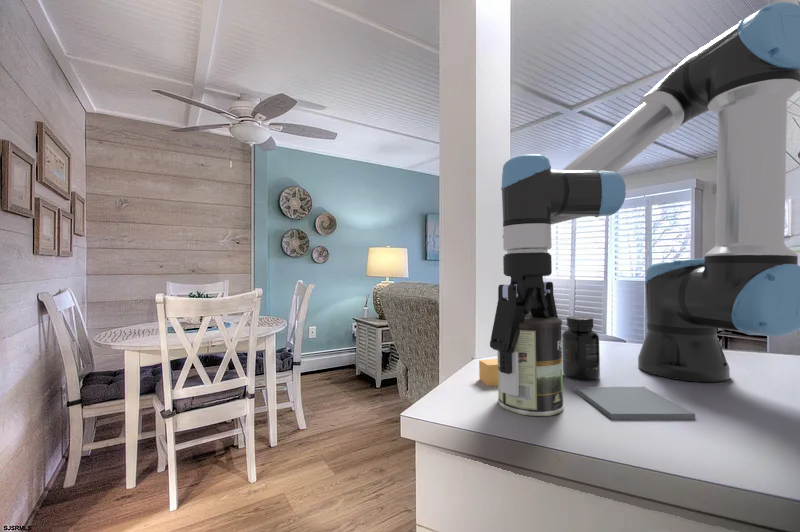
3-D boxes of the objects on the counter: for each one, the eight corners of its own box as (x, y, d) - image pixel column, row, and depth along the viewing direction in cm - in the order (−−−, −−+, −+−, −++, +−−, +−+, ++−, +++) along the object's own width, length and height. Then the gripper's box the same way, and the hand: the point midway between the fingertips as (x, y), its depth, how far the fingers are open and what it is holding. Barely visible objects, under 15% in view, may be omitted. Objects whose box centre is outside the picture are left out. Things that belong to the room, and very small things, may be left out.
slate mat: (643, 391, 65) (643, 386, 65) (695, 419, 53) (695, 413, 53) (575, 391, 66) (575, 387, 66) (611, 419, 54) (611, 413, 54)
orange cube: (497, 378, 74) (497, 358, 74) (507, 384, 71) (507, 363, 71) (479, 380, 74) (479, 360, 74) (488, 386, 70) (488, 365, 70)
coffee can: (556, 395, 64) (554, 314, 64) (571, 419, 54) (569, 323, 54) (495, 392, 66) (494, 314, 66) (499, 414, 56) (497, 322, 56)
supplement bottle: (597, 373, 76) (596, 316, 76) (602, 383, 70) (600, 320, 70) (562, 370, 79) (561, 315, 79) (563, 379, 73) (562, 319, 73)
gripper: (539, 254, 71) (541, 366, 71) (464, 251, 55) (466, 396, 55) (579, 252, 65) (581, 373, 65) (508, 249, 49) (511, 410, 49)
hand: (529, 384), depth 60 cm, fingers open, 11 cm apart
